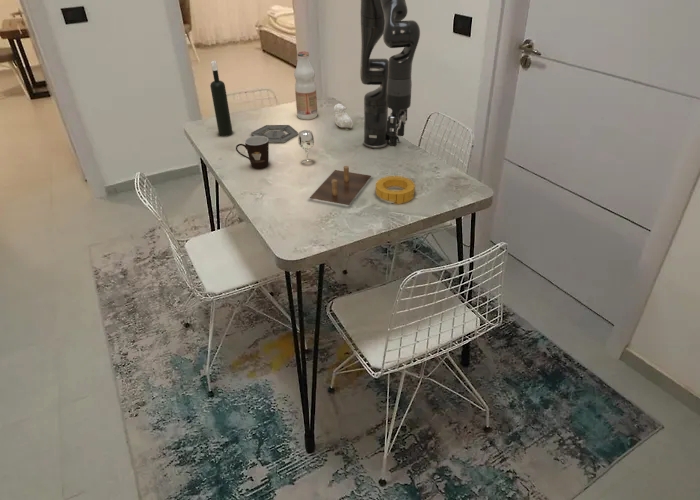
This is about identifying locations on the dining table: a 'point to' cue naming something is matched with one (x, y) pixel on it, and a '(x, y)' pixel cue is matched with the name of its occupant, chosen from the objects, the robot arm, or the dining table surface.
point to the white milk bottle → (305, 87)
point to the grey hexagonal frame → (276, 133)
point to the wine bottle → (220, 103)
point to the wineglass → (306, 141)
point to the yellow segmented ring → (391, 195)
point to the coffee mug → (257, 151)
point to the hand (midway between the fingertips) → (396, 140)
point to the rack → (341, 187)
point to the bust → (342, 117)
